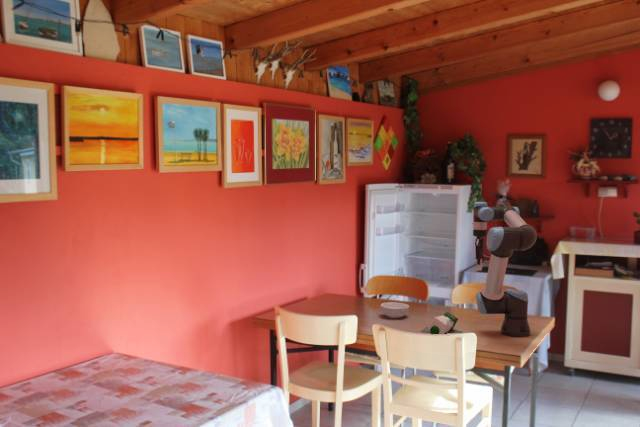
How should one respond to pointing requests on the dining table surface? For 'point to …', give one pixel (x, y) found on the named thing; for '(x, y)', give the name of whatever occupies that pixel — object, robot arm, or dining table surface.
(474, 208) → the robot arm
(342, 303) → the dining table surface
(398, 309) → the cereal bowl
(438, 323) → the soya milk
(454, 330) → the mat
